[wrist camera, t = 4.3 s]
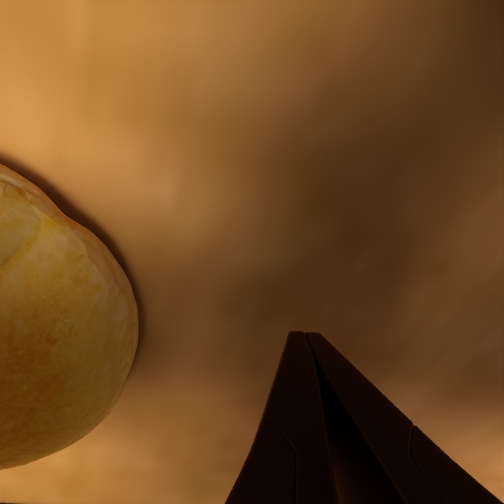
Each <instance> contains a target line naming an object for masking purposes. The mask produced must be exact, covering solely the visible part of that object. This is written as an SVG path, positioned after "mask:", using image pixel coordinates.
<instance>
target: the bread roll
mask: <svg viewBox="0 0 504 504" xmlns="http://www.w3.org/2000/svg"><path fill="white" fill-rule="evenodd" d="M138 329H139V328H138V311H137V304H136V301H135V298H134V295H133V291H132V287H131V284H130V282H129V280H128V278H127V276H126V274H125V272H124V270H123V269H122V268H121V266H120V265H119V263H118V262H117V261H116V259H115V258H114V256H113V255H112V253H111V252H110V251H109V249H108V248H107V247H106V246H105V245H104V244H103V242H102V241H101V240H100V239H99V238H98V237H97V236H96V235H95V234H93V233H92V232H91V231H90V230H89V229H87V228H85V227H84V226H82V225H80V224H79V223H77V222H75V221H74V220H72V219H70V218H69V217H67V216H66V215H65V214H63V213H62V212H61V211H60V209H59V208H58V207H57V206H56V205H55V204H54V202H53V201H52V200H51V199H50V198H49V197H48V196H47V195H46V194H45V193H44V192H43V191H42V190H41V189H40V188H39V187H38V186H36V185H35V184H33V183H31V182H30V181H28V180H27V179H25V178H24V177H22V176H21V175H19V174H18V173H16V172H14V171H12V170H11V169H9V168H7V167H6V166H4V165H2V164H0V470H2V469H7V468H12V467H16V466H21V465H25V464H28V463H30V462H33V461H35V460H38V459H41V458H43V457H46V456H48V455H51V454H53V453H55V452H58V451H60V450H62V449H64V448H66V447H68V446H70V445H71V444H73V443H75V442H76V441H78V440H80V439H81V438H83V437H84V436H85V435H87V434H88V433H89V432H90V431H91V430H93V429H94V428H95V427H96V426H97V425H98V424H99V423H100V422H101V421H102V420H103V419H104V418H105V417H106V416H107V415H108V414H109V412H110V411H111V409H112V408H113V406H114V405H115V403H116V401H117V400H118V398H119V396H120V394H121V392H122V390H123V387H124V384H125V381H126V379H127V376H128V374H129V372H130V369H131V366H132V363H133V360H134V356H135V351H136V347H137V344H138Z"/></svg>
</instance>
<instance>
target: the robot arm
mask: <svg viewBox="0 0 504 504" xmlns="http://www.w3.org/2000/svg"><path fill="white" fill-rule="evenodd" d="M225 504H504V503H503V502H501V501H500V500H499V499H498V498H497V497H495V496H494V495H493V494H492V493H491V492H489V491H488V490H487V489H486V488H485V487H483V486H482V485H481V484H480V483H479V482H478V481H476V480H475V479H474V478H473V477H472V476H471V475H469V474H468V473H467V472H466V471H465V470H464V469H463V468H461V467H460V466H459V465H458V464H457V463H456V462H454V461H453V460H452V459H451V458H450V457H449V456H448V455H447V454H446V453H445V452H443V451H442V450H441V449H440V448H439V447H438V446H437V445H436V444H435V443H434V442H433V441H432V440H431V439H429V438H428V437H427V436H426V435H425V434H424V433H423V432H422V431H421V430H420V429H419V428H418V427H417V426H415V425H414V426H413V422H412V421H411V420H409V419H408V418H407V417H406V416H405V415H404V414H403V413H402V412H401V411H400V410H399V409H398V408H397V407H396V406H395V405H394V404H393V403H392V402H391V401H390V400H389V399H388V398H387V397H386V396H385V395H383V394H382V393H381V392H380V391H379V390H378V389H377V388H376V387H375V386H374V385H373V384H372V383H371V382H370V381H369V380H368V379H367V378H366V377H365V376H364V375H363V374H362V373H361V372H360V371H359V370H357V369H356V368H355V367H354V366H353V365H352V364H351V363H350V362H349V361H348V360H347V359H346V358H345V357H344V356H343V355H342V354H341V353H340V352H339V351H338V350H337V349H336V348H335V347H334V346H332V345H331V344H330V343H329V342H328V341H327V340H326V339H325V338H324V337H323V336H322V335H321V334H320V333H318V332H305V333H304V332H302V331H290V332H289V334H288V337H287V340H286V343H285V346H284V349H283V353H282V356H281V359H280V362H279V365H278V368H277V371H276V374H275V378H274V381H273V384H272V387H271V390H270V393H269V396H268V399H267V403H266V406H265V409H264V412H263V415H262V418H261V421H260V424H259V427H258V430H257V433H256V436H255V439H254V441H253V444H252V447H251V449H250V452H249V454H248V456H247V458H246V461H245V463H244V465H243V467H242V469H241V472H240V474H239V476H238V478H237V480H236V482H235V484H234V486H233V488H232V490H231V492H230V494H229V496H228V498H227V500H226V502H225Z"/></svg>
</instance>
